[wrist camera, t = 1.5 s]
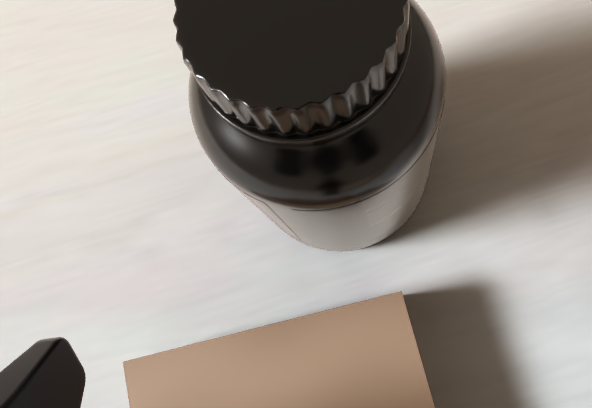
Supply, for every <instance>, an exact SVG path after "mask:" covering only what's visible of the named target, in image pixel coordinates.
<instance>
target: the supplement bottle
mask: <svg viewBox="0 0 592 408" xmlns="http://www.w3.org/2000/svg"><path fill="white" fill-rule="evenodd" d="M174 2H175V6H176V12H175V15H174V19H173V22H174V25H175V27H176V29H177V34H176V42H177V45H178V46H179V48H180V49H181V50H182V53H183V60H184V63H185V65H186V66H187V67H188V69H189V70H190V71H191V72H190V79H189V107H190V113H191V118H192V123H193V126H194V129H195V132H196V135H197V137H198V139H199V142H200V144H201V146H202V147H203V149H204V151H205V153H206V154H207V156H208V157H209V159H210V160H211V161H212V163H213V164H214V165H215V167H216V168H217V169H218V170H219V171H220V172H221V173H222V175H223V176H224V177H225V178H226V179H227V180H228V181H229V182H230V183H231V184H233V185H234V186H235V187H236V188H237V189H238V190H239V191H240V192H241V193H242V194H243V195H244V196H246V197H247V198H248V199H249V200H250V201H251V202H252V203H253V204H254V205H255V206H256V207H257V208H259V209H260V210H261V211H262V212H263V213H264V214H265V215H266V216H267V217H268V218H269V219H270V220H272V221H273V222H274V223H275V224H276V225H277V226H278V227H279V228H280V229H282V230H283V231H284V232H285V233H287V234H288V235H290V236H291V237H293V238H294V239H296V240H298V241H300V242H302V243H304V244H306V245H309V246H312V247H315V248H318V249H323V250H329V251H350V250H356V249H361V248H365V247H368V246H370V245H373V244H376V243H378V242H380V241H382V240H384V239H385V238H387V237H388V236H390V235H391V234H393V233H394V232H395V231H397V230H398V229H399V228H400V227H401V226H402V225H403V224H404V223H405V222H406V221H407V220H408V218H409V217H410V216H411V214H412V213H413V212H414V210H415V209H416V207H417V205H418V203H419V201H420V199H421V197H422V195H423V192H424V189H425V185H426V182H427V178H428V174H429V169H430V165H431V160H432V156H433V151H434V147H435V143H436V138H437V134H438V129H439V125H440V120H441V115H442V111H443V106H444V99H445V88H446V69H445V61H444V56H443V51H442V47H441V44H440V41H439V39H438V36H437V33H436V31H435V29H434V27H433V25H432V23H431V22H430V20H429V18H428V17H427V15H426V14H425V12H424V11H423V10H422V9H421V7H420V6H419V5H418V3H417V2H416V1H415V0H174Z"/></svg>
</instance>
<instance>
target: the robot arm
mask: <svg viewBox="0 0 592 408" xmlns="http://www.w3.org/2000/svg"><path fill="white" fill-rule="evenodd" d="M84 387H85V372H84V369H83V366H82V365H81V363H80V361H79V359H78V358H77V356H76V354H75V352H74V351H73V349H72V347H71V345H70V344H69V342H68V341H67V340H66V339H65V338H61V337H57V338H49V339H43V340H40V341H38V342H36V343H35V344H34V345H33V346H31V347H30V348H29V349H28V350H27V351H25V352H24V353H23V354H22V355H21V356H19V357H18V358H17V359H16V360H14V361H13V362H12V363H11V364H10V365H8V366H7V367H6V368H5V369H4V370H2V371H1V372H0V408H80V407H81V402H82V397H83V392H84Z"/></svg>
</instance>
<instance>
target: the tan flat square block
mask: <svg viewBox="0 0 592 408" xmlns="http://www.w3.org/2000/svg"><path fill="white" fill-rule="evenodd" d="M123 365H124V372H125V378H126V385H127V392H128V398H129V405H130V408H435V406H434V403H433V399H432V396H431V392H430V389H429V385H428V382H427V378H426V375H425V371H424V368H423V364H422V361H421V357H420V354H419V350H418V347H417V343H416V340H415V336H414V333H413V329H412V326H411V322H410V319H409V315H408V312H407V308H406V305H405V301H404V298H403V294H402V291H400V292H397V293H393V294H389V295H385V296H381V297H377V298H373V299H369V300H365V301H361V302H357V303H353V304H349V305H345V306H341V307H337V308H333V309H329V310H326V311H322V312H318V313H314V314H310V315H306V316H302V317H298V318H294V319H290V320H286V321H282V322H278V323H274V324H270V325H266V326H262V327H258V328H254V329H251V330H247V331H243V332H239V333H235V334H231V335H227V336H223V337H219V338H215V339H211V340H207V341H203V342H199V343H195V344H191V345H187V346H183V347H179V348H176V349H172V350H168V351H164V352H160V353H156V354H152V355H148V356H144V357H140V358H136V359H132V360H128V361H124V362H123Z"/></svg>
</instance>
